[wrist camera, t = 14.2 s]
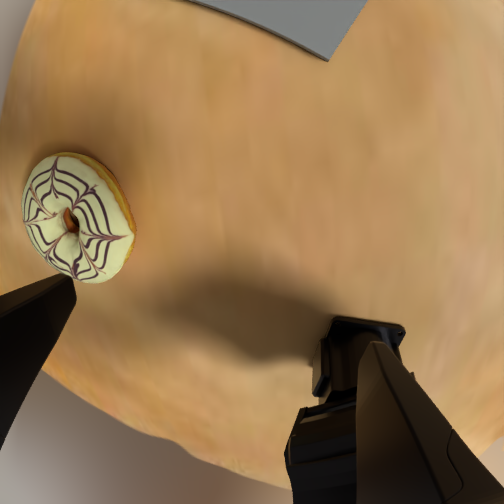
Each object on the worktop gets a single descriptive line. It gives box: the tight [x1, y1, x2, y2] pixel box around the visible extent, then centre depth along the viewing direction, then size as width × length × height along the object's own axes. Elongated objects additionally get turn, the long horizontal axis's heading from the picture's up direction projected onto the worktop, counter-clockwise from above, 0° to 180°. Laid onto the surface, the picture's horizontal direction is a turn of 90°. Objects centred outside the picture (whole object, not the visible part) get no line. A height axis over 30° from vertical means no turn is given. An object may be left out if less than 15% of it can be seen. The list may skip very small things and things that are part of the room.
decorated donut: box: [21, 152, 137, 283], centre depth 21 cm, size 10×11×4 cm
